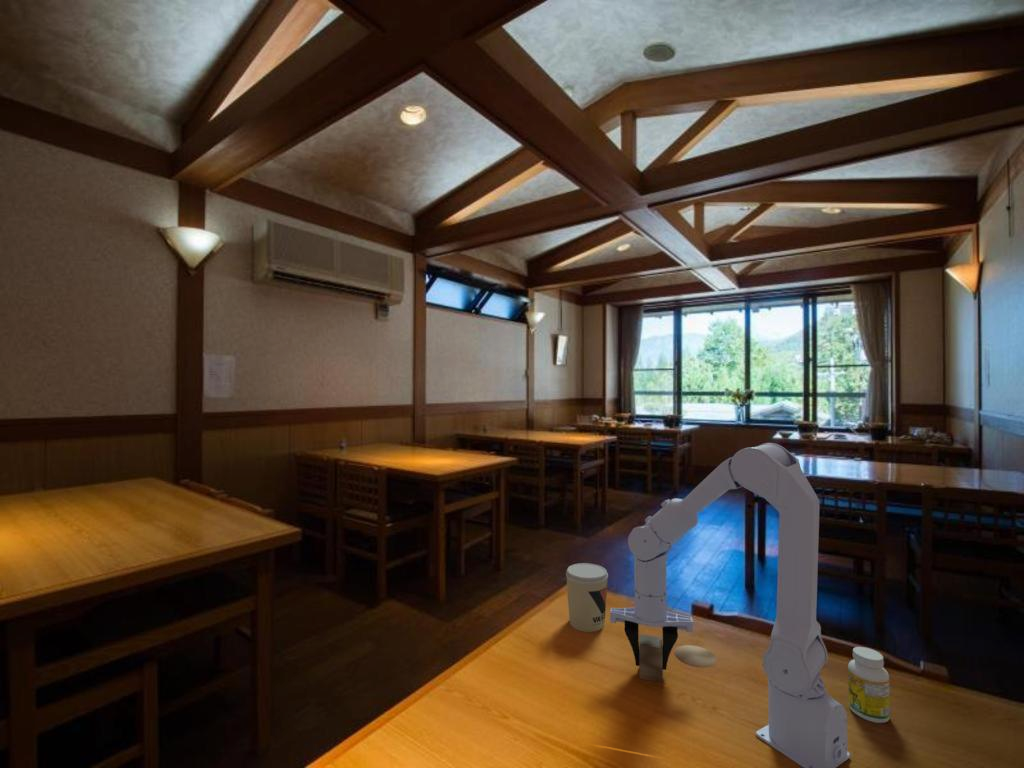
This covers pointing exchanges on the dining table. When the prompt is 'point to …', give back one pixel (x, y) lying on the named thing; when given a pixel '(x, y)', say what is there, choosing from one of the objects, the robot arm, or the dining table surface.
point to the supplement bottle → (868, 685)
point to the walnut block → (651, 658)
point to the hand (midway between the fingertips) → (650, 664)
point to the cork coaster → (695, 656)
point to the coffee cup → (587, 596)
